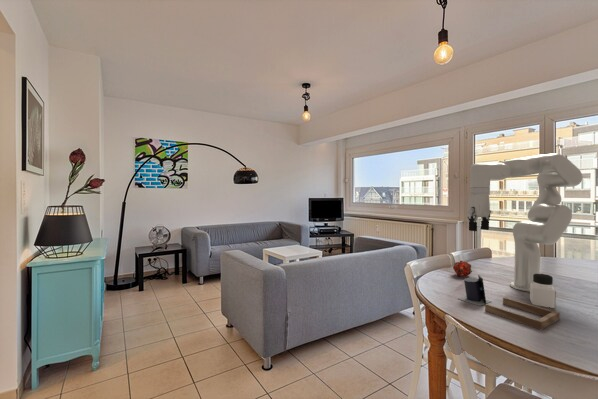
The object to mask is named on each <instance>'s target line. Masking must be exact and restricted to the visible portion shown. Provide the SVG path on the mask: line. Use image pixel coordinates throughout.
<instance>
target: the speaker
mask: <svg viewBox="0 0 598 399" xmlns="http://www.w3.org/2000/svg"><path fill="white" fill-rule="evenodd" d="M477 276H478V277H465V278H464V280H463V283H464V288H465V289H464V290H465V296H467V299H468V300H471V301H479V300H483V302H484V303H485V304H486V300H487V298H486V293H485V291H486V290H485V285H484V280H483V279H484V278H483V277H482V276H481V275H479V274H478V275H477Z"/></svg>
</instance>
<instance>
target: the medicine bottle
mask: <svg viewBox="0 0 598 399" xmlns="http://www.w3.org/2000/svg"><path fill="white" fill-rule="evenodd" d="M553 281H554V279H553V277H552V276H551V275H550V274H546V273H541V272H540V273H537V274H534V275H533V283H530V292H529V300H530V303H531V305H534V306H538V307H542V308H549V307H550V309H556V297H557V294H556V292H557V291H556V289H555V288H554V286H553Z"/></svg>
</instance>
